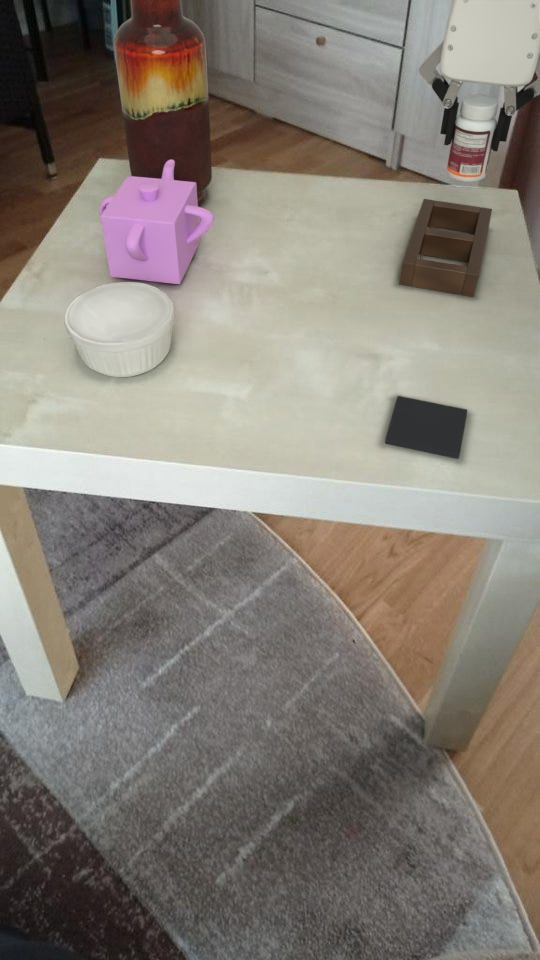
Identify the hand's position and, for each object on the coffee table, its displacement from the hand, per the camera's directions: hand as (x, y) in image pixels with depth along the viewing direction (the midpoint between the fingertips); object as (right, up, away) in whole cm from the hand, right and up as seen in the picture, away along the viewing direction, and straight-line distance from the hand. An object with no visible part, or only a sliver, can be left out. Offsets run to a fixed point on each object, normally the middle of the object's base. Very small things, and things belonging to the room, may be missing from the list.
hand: (472, 142), depth 86 cm
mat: (-8, -35, -14) cm, 38 cm away
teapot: (-37, -12, +6) cm, 39 cm away
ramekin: (-39, -26, -6) cm, 47 cm away
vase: (-37, 0, +17) cm, 41 cm away
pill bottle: (0, -3, +3) cm, 4 cm away
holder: (-1, -11, +8) cm, 13 cm away
